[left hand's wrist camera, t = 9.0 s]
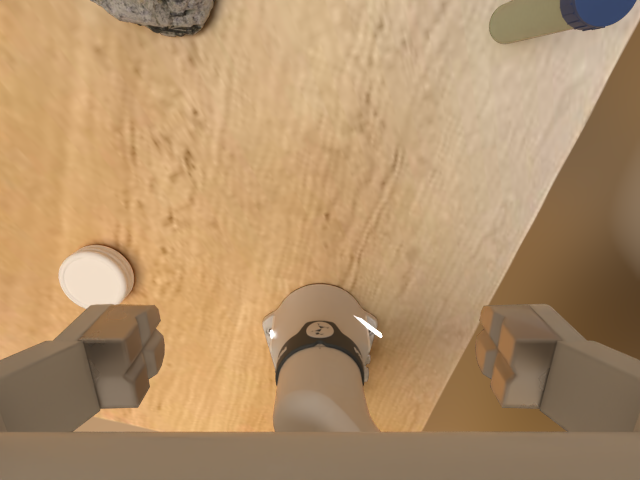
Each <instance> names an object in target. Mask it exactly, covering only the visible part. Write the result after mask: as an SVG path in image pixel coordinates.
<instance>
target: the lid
mask: <svg viewBox="0 0 640 480" xmlns="http://www.w3.org/2000/svg"><path fill="white" fill-rule="evenodd" d="M635 2H636V0H560V11H561V14H562V18H563V19H564V20H565V22H566V23H567V25H570V26H571V27H573V28H574V29H578V30H582V31H586V30H591V29H592V30H595V29H600V28H604V27H605V26H608V25H611V24H614V23H616V22H617V21H619V20H620V19H622V18H623V17H624V16H625V15H626V14H627V13H628V12H629V11H630V10H631V9H632V7H633V6H634V4H635Z"/></svg>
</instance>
